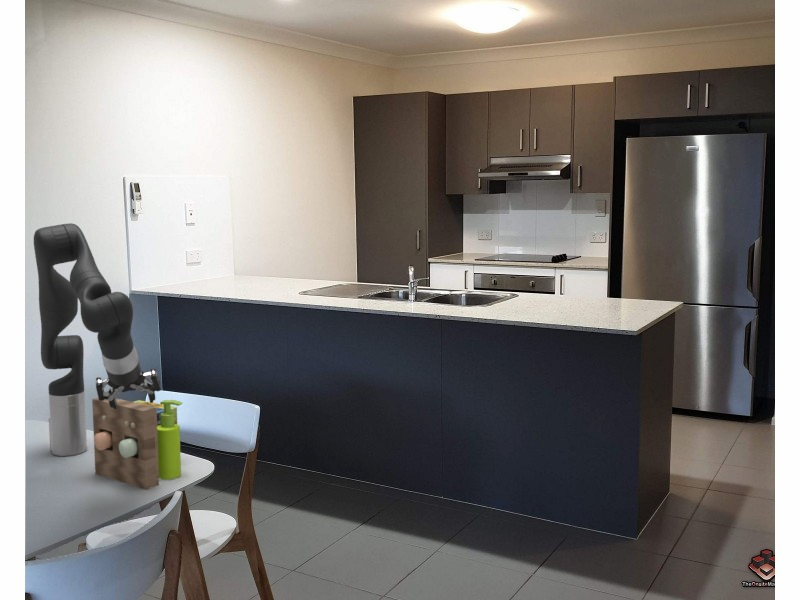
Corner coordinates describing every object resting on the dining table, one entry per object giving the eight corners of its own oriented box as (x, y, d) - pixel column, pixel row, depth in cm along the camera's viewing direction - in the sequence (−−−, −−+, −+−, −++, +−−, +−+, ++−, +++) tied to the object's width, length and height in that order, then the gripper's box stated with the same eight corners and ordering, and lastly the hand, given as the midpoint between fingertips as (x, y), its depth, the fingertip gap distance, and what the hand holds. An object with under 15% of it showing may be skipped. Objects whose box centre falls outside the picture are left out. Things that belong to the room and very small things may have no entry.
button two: (119, 456, 191) (118, 438, 190) (129, 452, 193) (128, 435, 192) (130, 459, 188) (130, 442, 188) (140, 456, 191) (140, 438, 190)
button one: (94, 448, 196) (93, 432, 195) (104, 445, 198) (103, 429, 198) (105, 451, 194) (104, 435, 193) (115, 448, 196) (114, 432, 195)
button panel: (94, 473, 200) (91, 399, 197) (108, 469, 203) (105, 395, 201) (145, 490, 189) (142, 411, 186) (159, 484, 193) (156, 407, 190)
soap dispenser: (177, 480, 195) (175, 404, 193) (153, 478, 197) (150, 403, 194) (188, 472, 201) (186, 398, 199) (164, 470, 203) (162, 397, 200)
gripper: (152, 344, 181) (162, 386, 193) (88, 353, 178) (102, 396, 189) (154, 368, 176) (164, 410, 188) (88, 378, 173) (103, 420, 184)
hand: (133, 403), depth 188 cm, fingers open, 8 cm apart
